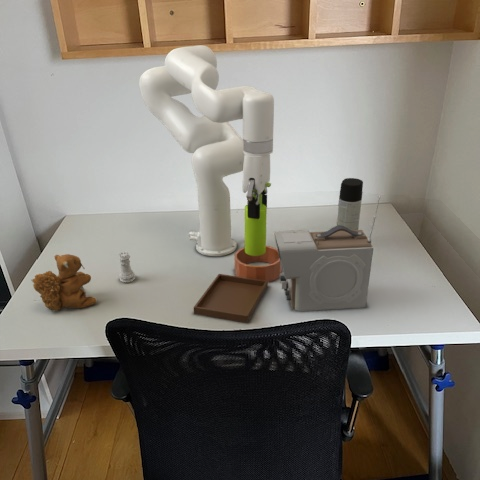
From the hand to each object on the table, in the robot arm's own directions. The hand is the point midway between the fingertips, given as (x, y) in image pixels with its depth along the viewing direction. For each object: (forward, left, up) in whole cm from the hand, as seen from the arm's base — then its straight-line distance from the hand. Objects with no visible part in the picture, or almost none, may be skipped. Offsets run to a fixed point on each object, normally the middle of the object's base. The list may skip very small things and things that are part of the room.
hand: (257, 212), depth 144 cm
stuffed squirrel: (-43, -31, -18) cm, 56 cm away
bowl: (0, 0, -18) cm, 18 cm away
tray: (-2, -17, -18) cm, 25 cm away
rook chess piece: (-34, -15, -18) cm, 41 cm away
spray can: (+21, +25, -18) cm, 37 cm away
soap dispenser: (0, 0, -12) cm, 12 cm away
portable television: (+20, -11, -18) cm, 29 cm away
